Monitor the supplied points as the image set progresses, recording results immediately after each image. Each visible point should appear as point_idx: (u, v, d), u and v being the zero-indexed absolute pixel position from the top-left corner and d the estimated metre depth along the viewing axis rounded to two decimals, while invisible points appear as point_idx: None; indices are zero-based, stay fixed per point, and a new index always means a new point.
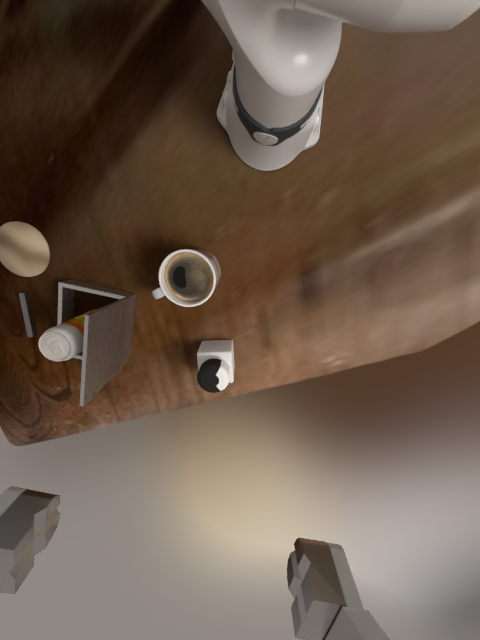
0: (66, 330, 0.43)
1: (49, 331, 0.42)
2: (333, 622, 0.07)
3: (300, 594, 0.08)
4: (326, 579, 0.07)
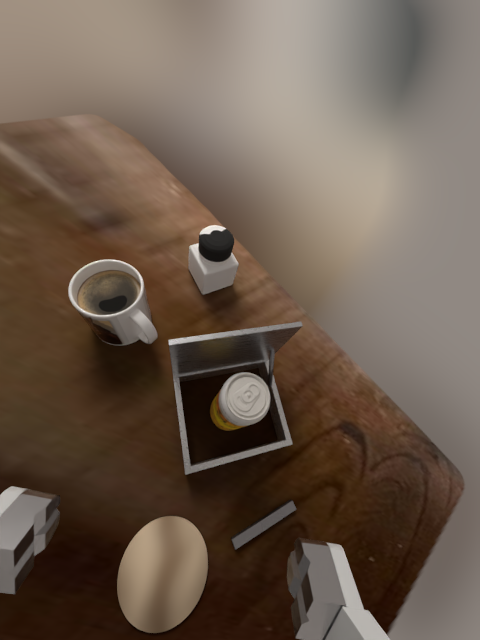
0: (221, 392, 0.30)
1: (229, 410, 0.29)
2: (334, 622, 0.07)
3: (300, 594, 0.08)
4: (326, 579, 0.07)
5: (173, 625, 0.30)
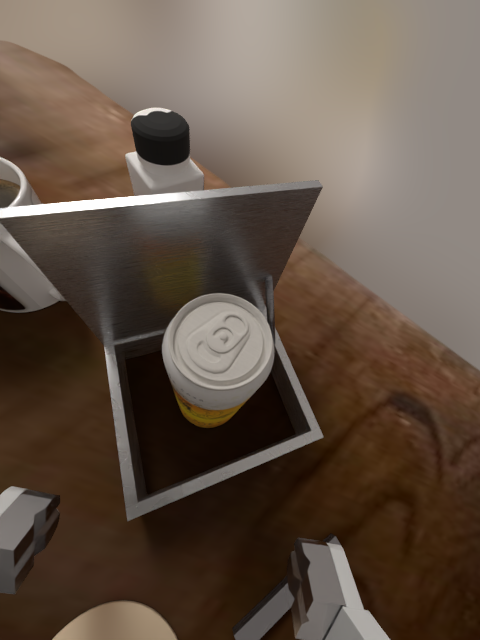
0: (163, 340, 0.14)
1: (178, 373, 0.12)
2: (333, 622, 0.07)
3: (300, 594, 0.08)
4: (326, 579, 0.07)
5: None
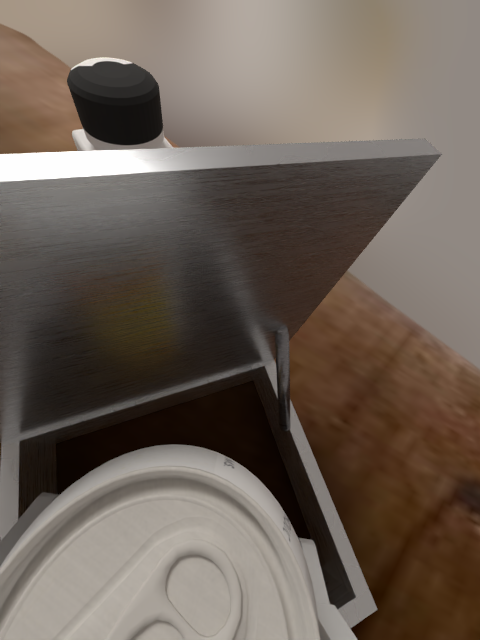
0: None
1: None
2: None
3: None
4: None
5: None
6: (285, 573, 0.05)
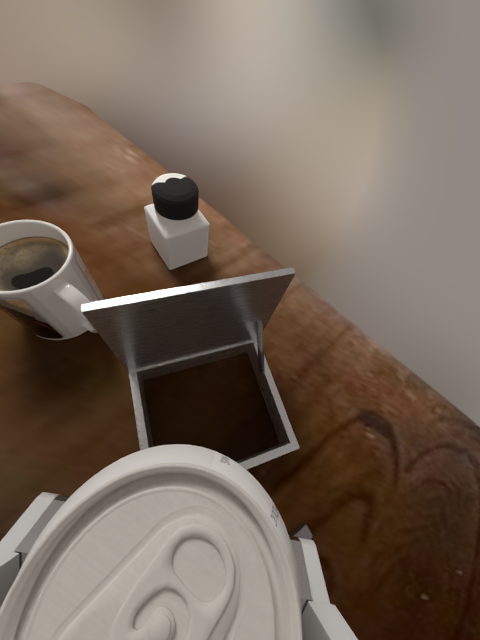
0: None
1: None
2: None
3: None
4: None
5: None
6: (272, 552, 0.06)
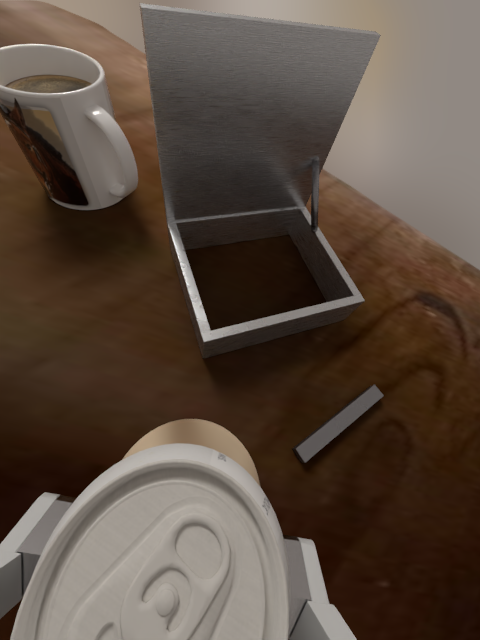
0: None
1: None
2: (299, 617, 0.07)
3: None
4: (293, 573, 0.07)
5: None
6: (263, 537, 0.06)
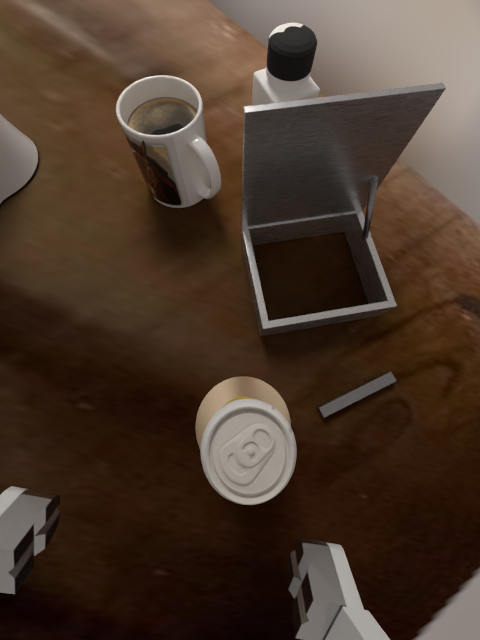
0: (202, 438, 0.16)
1: (211, 480, 0.15)
2: (334, 622, 0.07)
3: (300, 594, 0.08)
4: (326, 579, 0.07)
5: None
6: (287, 441, 0.16)
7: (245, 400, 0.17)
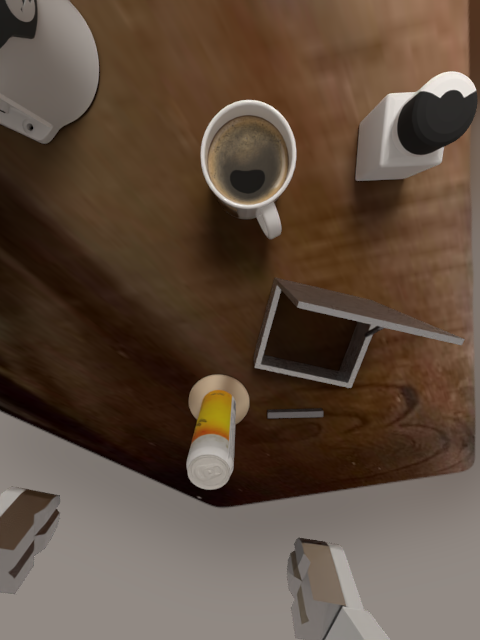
0: (189, 454, 0.32)
1: None
2: (334, 622, 0.07)
3: (300, 594, 0.08)
4: (326, 579, 0.07)
5: None
6: (228, 472, 0.32)
7: (216, 449, 0.32)
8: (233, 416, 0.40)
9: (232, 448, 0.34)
